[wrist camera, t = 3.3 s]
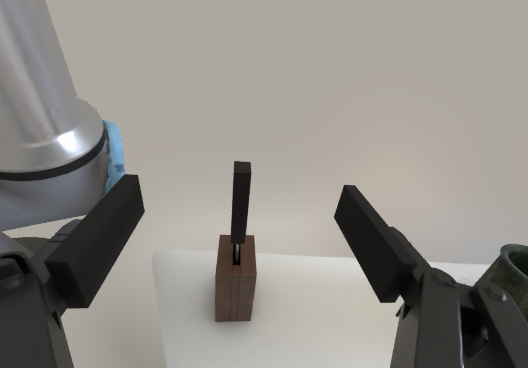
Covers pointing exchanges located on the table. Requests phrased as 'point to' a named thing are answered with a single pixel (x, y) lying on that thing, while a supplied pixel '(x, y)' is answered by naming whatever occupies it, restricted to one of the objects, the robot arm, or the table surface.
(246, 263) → the knife block
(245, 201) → the knife
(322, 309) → the table surface
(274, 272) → the table surface
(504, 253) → the mug
